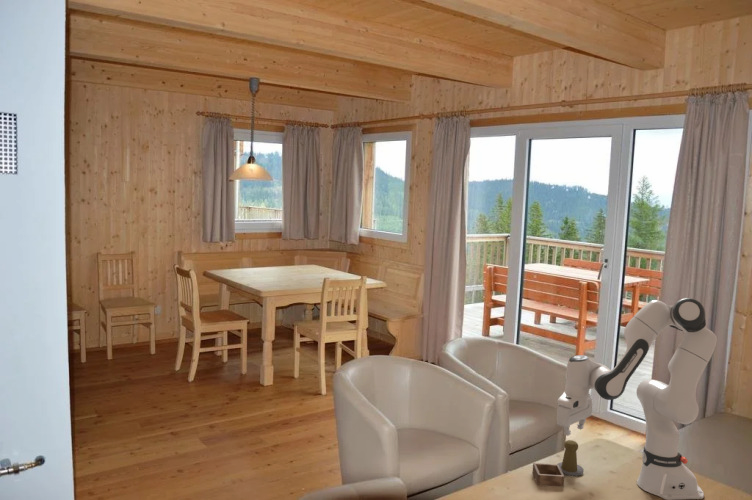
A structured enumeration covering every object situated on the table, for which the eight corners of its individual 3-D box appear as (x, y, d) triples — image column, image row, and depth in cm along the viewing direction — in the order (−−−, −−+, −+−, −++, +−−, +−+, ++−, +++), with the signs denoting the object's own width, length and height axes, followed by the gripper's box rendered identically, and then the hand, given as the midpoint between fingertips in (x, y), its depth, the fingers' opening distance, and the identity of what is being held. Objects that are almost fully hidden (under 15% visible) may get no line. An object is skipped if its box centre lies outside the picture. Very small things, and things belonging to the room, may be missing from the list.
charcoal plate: (579, 465, 247) (579, 462, 247) (586, 477, 237) (586, 474, 237) (554, 463, 247) (554, 461, 247) (560, 475, 237) (560, 473, 237)
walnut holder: (557, 474, 238) (558, 464, 238) (563, 486, 229) (564, 476, 228) (532, 472, 239) (533, 462, 238) (537, 485, 229) (538, 474, 229)
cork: (578, 473, 238) (580, 445, 237) (561, 471, 239) (564, 443, 238) (576, 466, 244) (578, 439, 243) (560, 464, 245) (562, 437, 244)
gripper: (582, 389, 248) (580, 422, 249) (554, 400, 234) (552, 435, 236) (597, 393, 243) (595, 427, 245) (569, 405, 229) (567, 441, 231)
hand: (573, 431), depth 240 cm, fingers open, 8 cm apart
